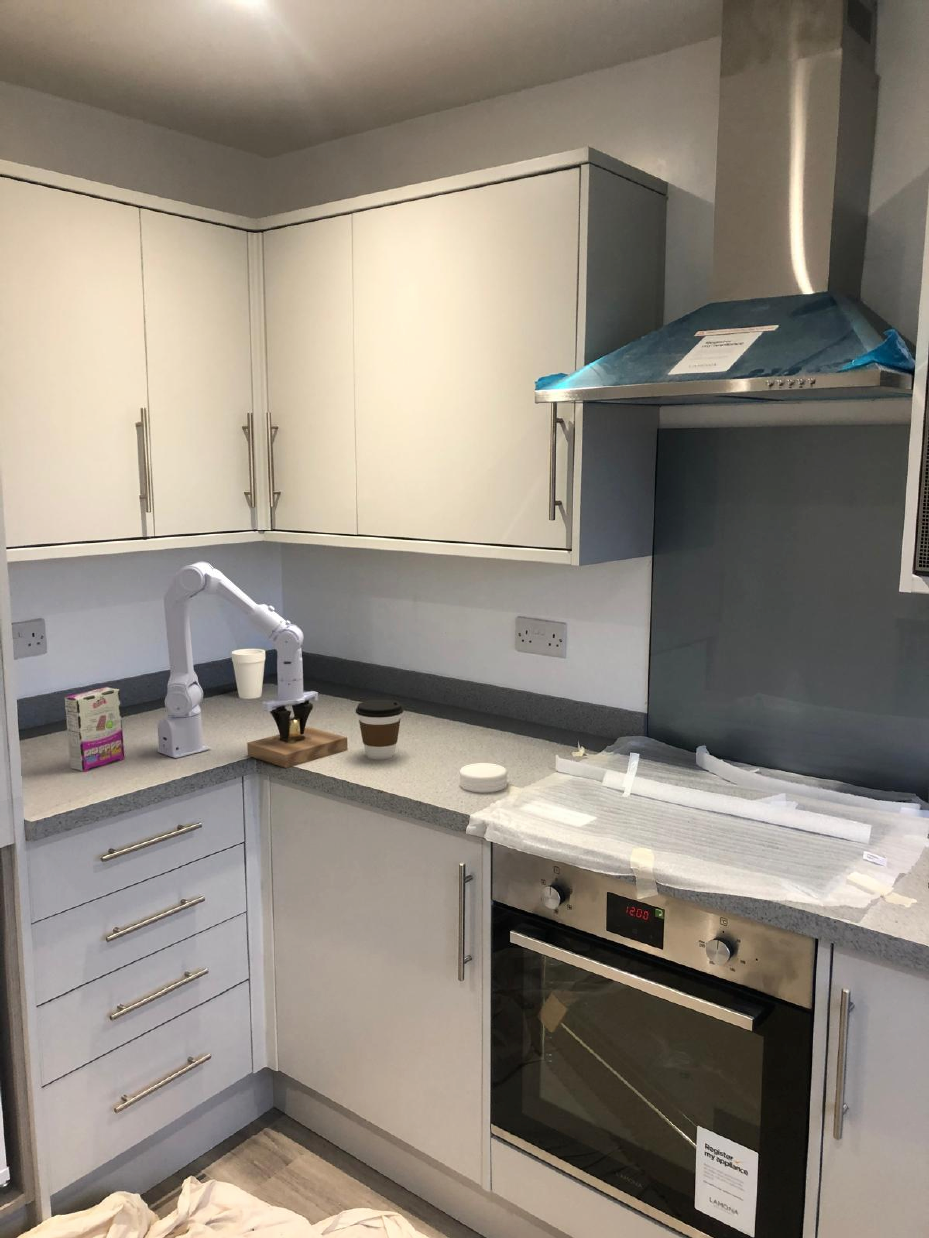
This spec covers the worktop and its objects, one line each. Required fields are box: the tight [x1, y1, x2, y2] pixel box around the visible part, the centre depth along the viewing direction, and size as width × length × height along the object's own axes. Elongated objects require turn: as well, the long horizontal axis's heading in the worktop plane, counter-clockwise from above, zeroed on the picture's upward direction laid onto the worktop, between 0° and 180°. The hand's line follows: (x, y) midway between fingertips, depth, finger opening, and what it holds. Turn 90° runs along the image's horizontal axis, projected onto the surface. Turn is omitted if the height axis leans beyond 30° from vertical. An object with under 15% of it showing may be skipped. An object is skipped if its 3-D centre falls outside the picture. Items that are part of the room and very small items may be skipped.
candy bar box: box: [63, 686, 125, 773], centre depth 215 cm, size 11×5×16 cm, turn 148°
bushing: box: [283, 716, 301, 742], centre depth 225 cm, size 4×4×6 cm
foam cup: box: [231, 648, 266, 700], centre depth 278 cm, size 10×9×13 cm
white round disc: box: [459, 762, 508, 794], centre depth 202 cm, size 10×10×4 cm
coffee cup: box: [355, 699, 405, 760], centre depth 221 cm, size 11×11×12 cm
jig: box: [246, 726, 348, 769], centre depth 224 cm, size 18×14×3 cm
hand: (292, 735), depth 225 cm, fingers closed on bushing, 4 cm apart
